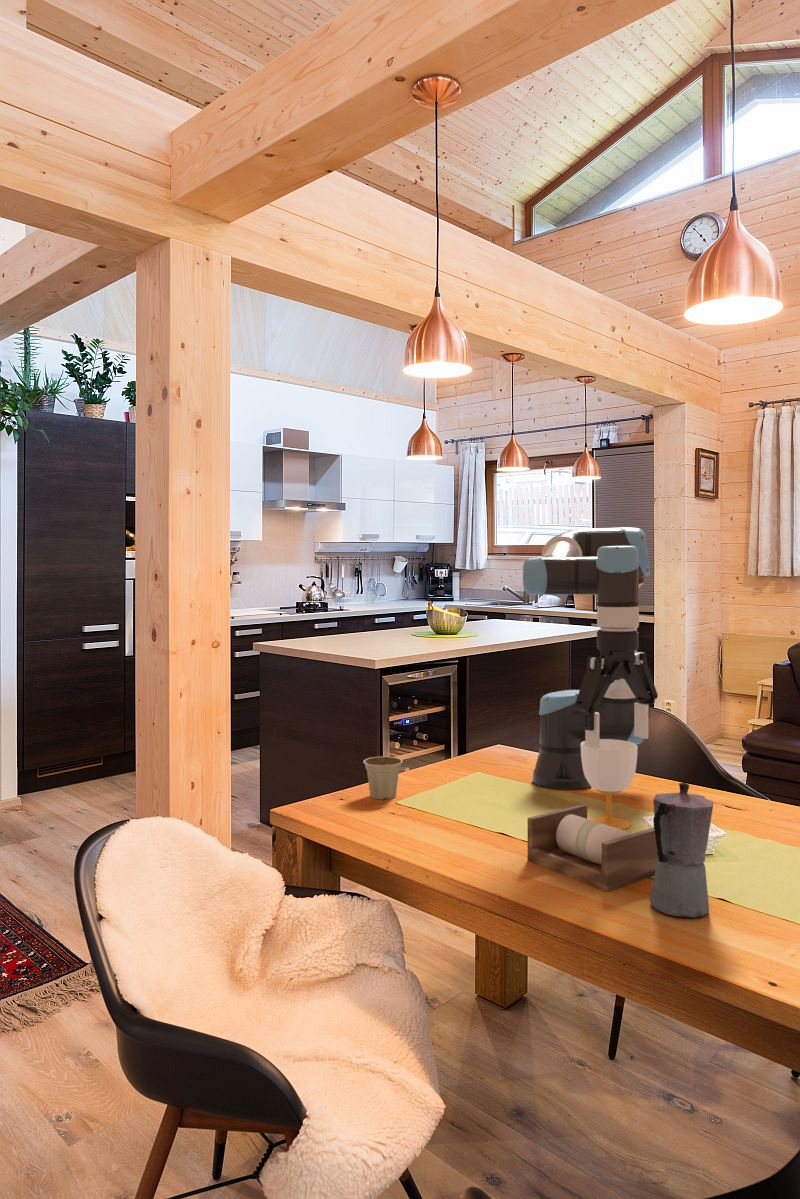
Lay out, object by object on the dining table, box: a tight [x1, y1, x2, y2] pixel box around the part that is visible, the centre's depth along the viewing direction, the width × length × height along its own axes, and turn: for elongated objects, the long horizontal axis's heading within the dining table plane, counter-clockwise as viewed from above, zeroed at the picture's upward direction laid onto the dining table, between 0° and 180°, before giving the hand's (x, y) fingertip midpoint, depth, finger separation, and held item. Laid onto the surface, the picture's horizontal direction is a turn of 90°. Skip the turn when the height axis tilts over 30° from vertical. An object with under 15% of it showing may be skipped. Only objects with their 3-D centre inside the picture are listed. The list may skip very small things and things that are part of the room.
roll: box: [556, 814, 631, 865], centre depth 149 cm, size 12×7×7 cm, turn 35°
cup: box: [581, 739, 639, 831], centre depth 174 cm, size 12×12×17 cm
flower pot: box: [363, 756, 403, 800], centre depth 197 cm, size 9×9×9 cm
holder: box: [527, 803, 658, 892], centre depth 149 cm, size 19×15×8 cm
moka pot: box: [649, 782, 714, 918], centre depth 129 cm, size 10×15×20 cm, turn 138°
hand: (617, 742), depth 153 cm, fingers open, 13 cm apart
